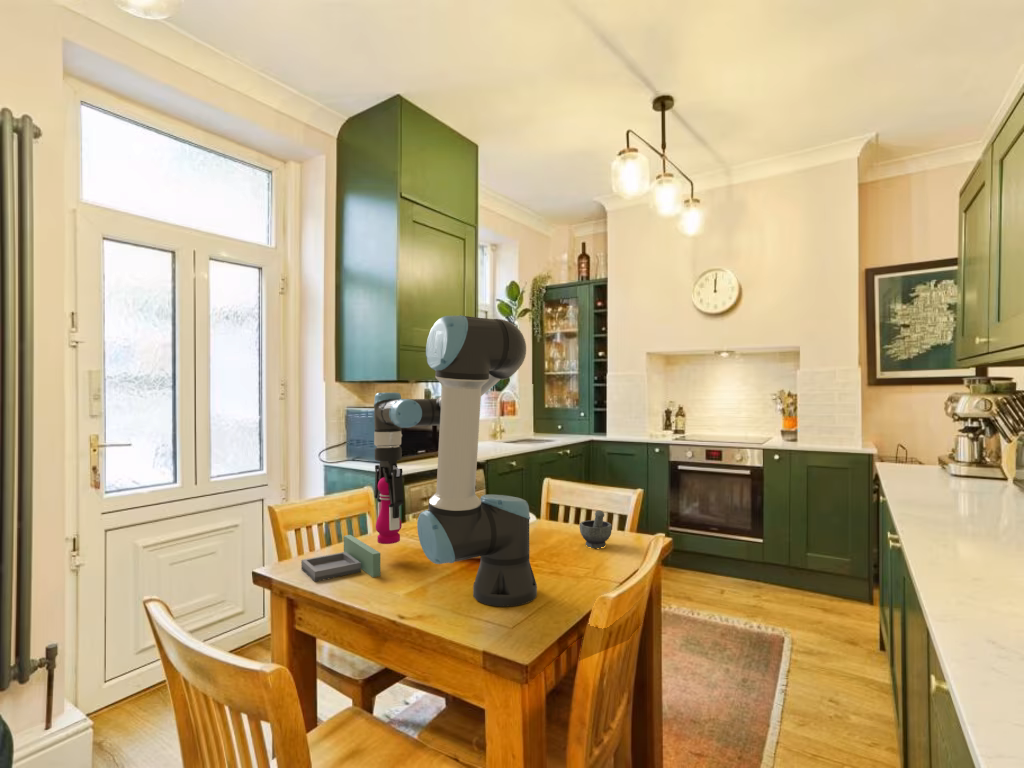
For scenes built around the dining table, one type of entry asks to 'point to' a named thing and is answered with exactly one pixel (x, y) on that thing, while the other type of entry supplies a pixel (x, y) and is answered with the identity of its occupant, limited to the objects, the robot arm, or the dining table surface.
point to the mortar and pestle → (596, 531)
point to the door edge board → (363, 555)
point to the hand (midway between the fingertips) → (388, 526)
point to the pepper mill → (385, 517)
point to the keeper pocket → (330, 566)
